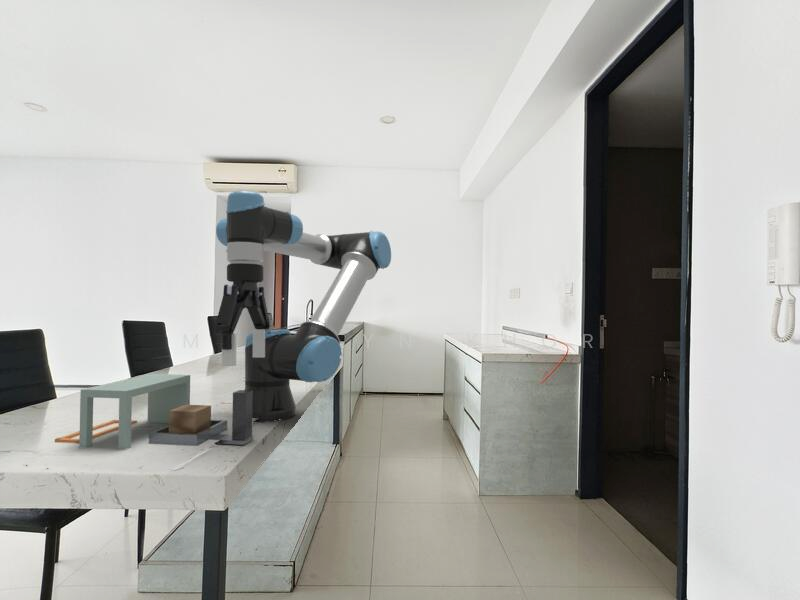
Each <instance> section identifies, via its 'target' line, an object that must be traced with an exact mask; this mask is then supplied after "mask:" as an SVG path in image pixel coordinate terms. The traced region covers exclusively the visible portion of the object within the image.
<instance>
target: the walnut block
mask: <svg viewBox="0 0 800 600" xmlns="http://www.w3.org/2000/svg"><path fill="white" fill-rule="evenodd" d="M211 420H212V405H205V404H203V405H202V404H190V405H184V406H181V407H178V408H176V409H173V410H170V411H169V423H168V425H169V433H182V434H197V433H199V432H201V431H203V430H205V429H207V428H209V427H211Z"/></svg>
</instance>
